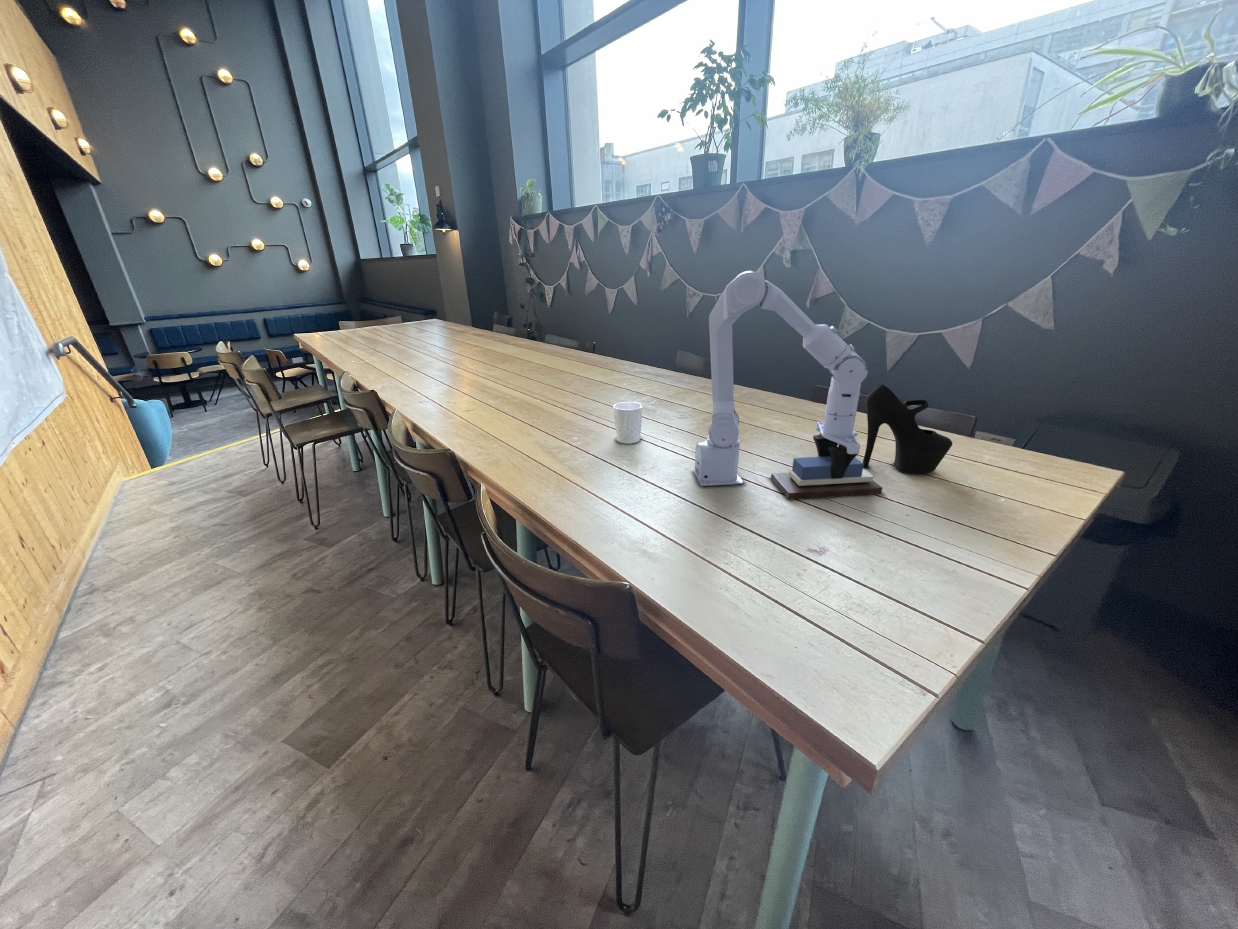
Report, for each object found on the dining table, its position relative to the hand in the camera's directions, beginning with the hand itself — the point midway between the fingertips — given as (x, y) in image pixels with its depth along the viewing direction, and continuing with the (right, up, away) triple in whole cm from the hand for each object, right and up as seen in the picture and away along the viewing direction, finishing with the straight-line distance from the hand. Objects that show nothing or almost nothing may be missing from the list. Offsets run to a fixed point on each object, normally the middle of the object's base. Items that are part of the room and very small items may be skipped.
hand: (830, 472), depth 101 cm
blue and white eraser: (0, -1, +1) cm, 1 cm away
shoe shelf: (-1, -3, +1) cm, 3 cm away
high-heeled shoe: (+20, +1, +9) cm, 21 cm away
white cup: (-43, +9, +31) cm, 54 cm away
